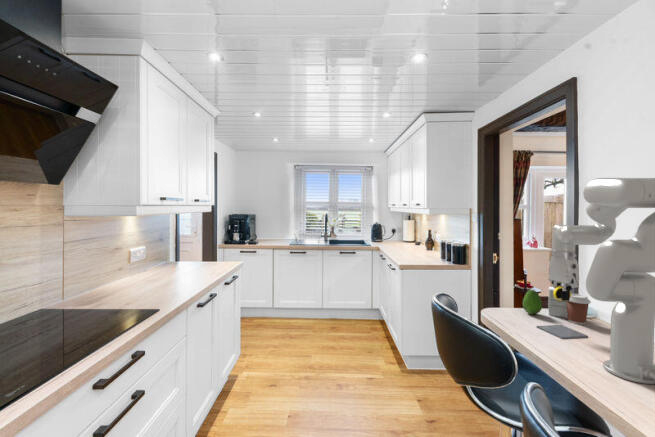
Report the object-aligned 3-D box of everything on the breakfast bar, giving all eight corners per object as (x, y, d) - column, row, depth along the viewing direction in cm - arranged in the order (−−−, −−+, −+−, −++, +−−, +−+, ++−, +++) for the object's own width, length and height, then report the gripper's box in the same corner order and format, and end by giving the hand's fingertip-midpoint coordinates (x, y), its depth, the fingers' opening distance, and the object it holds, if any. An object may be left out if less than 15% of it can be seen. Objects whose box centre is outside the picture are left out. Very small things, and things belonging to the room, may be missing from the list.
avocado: (523, 315, 149) (524, 290, 149) (521, 310, 156) (521, 286, 156) (543, 317, 146) (544, 292, 145) (540, 312, 153) (540, 288, 152)
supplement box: (548, 311, 156) (548, 286, 155) (566, 314, 151) (567, 288, 151) (548, 315, 150) (548, 289, 149) (567, 318, 145) (568, 291, 145)
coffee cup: (559, 319, 143) (560, 294, 143) (571, 317, 147) (571, 292, 146) (582, 326, 135) (583, 299, 134) (594, 323, 138) (595, 296, 138)
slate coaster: (588, 337, 123) (588, 335, 123) (561, 338, 122) (561, 337, 121) (561, 326, 135) (561, 324, 135) (536, 327, 133) (536, 325, 133)
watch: (567, 300, 129) (569, 286, 129) (571, 302, 126) (573, 288, 126) (551, 298, 130) (553, 284, 130) (555, 300, 127) (556, 286, 127)
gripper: (590, 257, 120) (589, 304, 121) (554, 252, 136) (553, 293, 137) (573, 258, 119) (572, 305, 120) (539, 252, 135) (538, 294, 136)
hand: (562, 298), depth 128 cm, fingers closed on watch, 2 cm apart
